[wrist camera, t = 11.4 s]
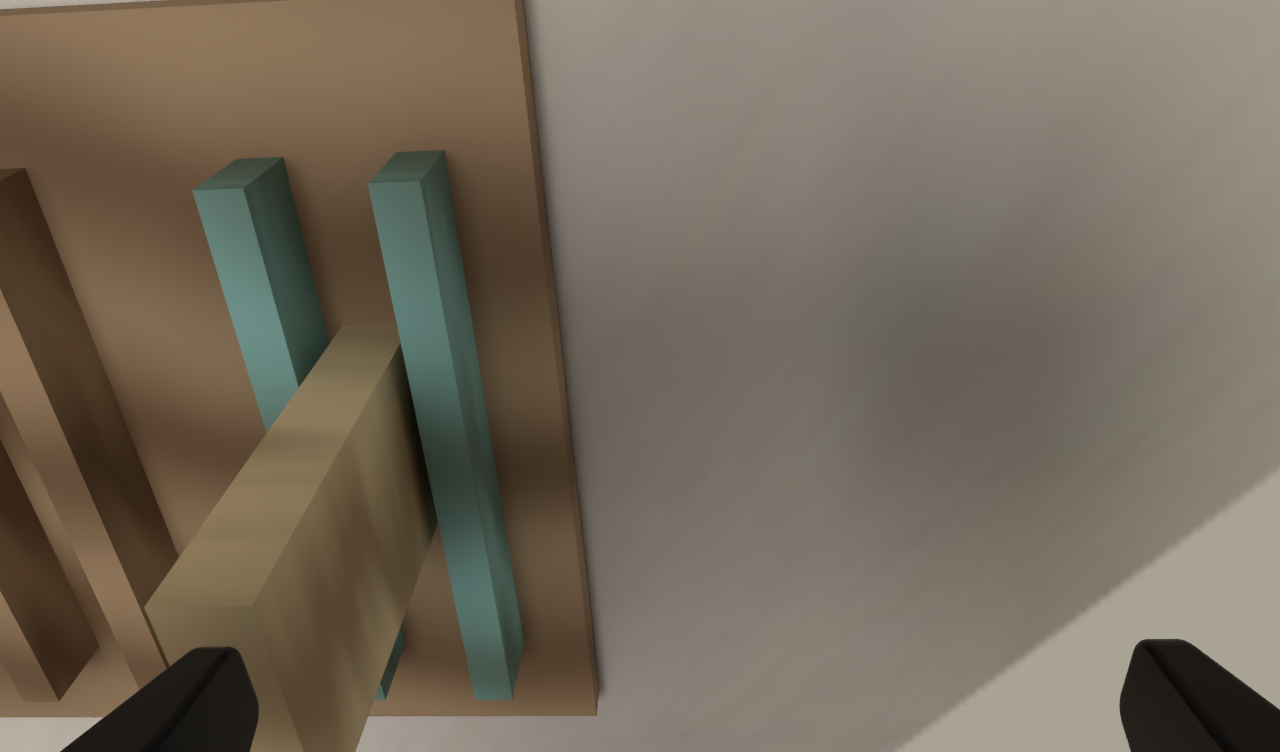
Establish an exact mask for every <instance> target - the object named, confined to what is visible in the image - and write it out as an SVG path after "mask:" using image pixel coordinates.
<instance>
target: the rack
mask: <svg viewBox="0 0 1280 752" xmlns="http://www.w3.org/2000/svg"><path fill="white" fill-rule="evenodd" d="M389 323H397V327H398V332H399V337H400V342H401V346H402V351H403V356H404V361H405V366H406V370H407V375H408V380H409V385H410V390H411V394H412V399H413V404H414V409H415V414H416V418H417V423H418V428H419V433H420V438H421V442H422V447H423V452H424V457H425V462H426V467H427V471H428V476H429V481H430V486H431V491H432V495H433V500H434V505H435V510H436V515H437V519H438V524H437V527H436V530H435V533H434V535H433V538H432V541H431V544H430V546H429V549H428V552H427V555H426V558H425V560H424V563H423V566H422V569H421V571H420V574H419V577H418V580H417V582H416V585H415V588H414V591H413V593H412V596H411V599H410V602H409V605H408V607H407V610H406V613H405V616H404V618H403V621H402V624H401V627H400V629H399V632H398V635H397V638H396V640H395V643H394V646H393V649H392V652H391V654H390V657H389V660H388V663H387V665H386V668H385V671H384V674H383V676H382V679H381V682H380V685H379V687H378V690H377V693H376V696H375V699H374V701H373V704H372V707H371V710H370V712H369V715H368V716H596V715H597V706H598V696H599V682H598V673H597V664H596V655H595V646H594V637H593V628H592V619H591V610H590V601H589V592H588V583H587V574H586V565H585V556H584V547H583V538H582V529H581V519H580V510H579V501H578V492H577V483H576V474H575V465H574V456H573V447H572V438H571V429H570V420H569V411H568V402H567V393H566V384H565V375H564V366H563V357H562V348H561V339H560V330H559V321H558V311H557V302H556V293H555V284H554V275H553V266H552V257H551V248H550V239H549V230H548V221H547V212H546V203H545V194H544V185H543V176H542V167H541V158H540V149H539V140H538V131H537V122H536V113H535V104H534V94H533V85H532V76H531V67H530V58H529V49H528V40H527V31H526V22H525V13H524V4H523V0H169V1H151V2H133V3H114V4H96V5H78V6H59V7H41V8H23V9H4V10H0V717H105V716H107V715H108V714H109V713H110V712H112V711H113V710H114V709H116V708H117V707H118V706H119V705H121V704H122V703H123V702H125V701H126V700H127V699H128V698H130V697H131V696H132V695H134V694H135V693H136V692H137V691H139V690H140V689H141V688H143V687H144V686H145V685H146V684H148V683H149V682H150V681H152V680H153V679H154V678H155V677H157V676H158V675H159V674H160V673H162V672H163V671H164V670H166V669H167V668H168V667H169V663H168V661H167V659H166V656H165V654H164V652H163V650H162V647H161V645H160V643H159V640H158V638H157V636H156V633H155V631H154V629H153V626H152V624H151V622H150V620H149V617H148V615H147V613H146V610H145V608H144V607H145V605H146V604H147V602H148V601H149V600H150V598H151V597H152V595H153V594H154V592H155V591H156V590H157V588H158V587H159V585H160V584H161V583H162V581H163V580H164V578H165V577H166V575H167V574H168V573H169V571H170V570H171V568H172V567H173V566H174V564H175V563H176V561H177V560H178V558H179V557H180V556H181V554H182V553H183V551H184V550H185V548H186V547H187V546H188V544H189V543H190V541H191V540H192V539H193V537H194V536H195V534H196V533H197V531H198V530H199V529H200V527H201V526H202V524H203V523H204V521H205V520H206V519H207V517H208V516H209V514H210V513H211V512H212V510H213V509H214V507H215V506H216V504H217V503H218V502H219V500H220V499H221V497H222V496H223V495H224V493H225V492H226V490H227V489H228V487H229V486H230V485H231V483H232V482H233V480H234V479H235V477H236V476H237V475H238V473H239V472H240V470H241V469H242V468H243V466H244V465H245V463H246V462H247V460H248V459H249V458H250V456H251V455H252V453H253V452H254V451H255V449H256V448H257V446H258V445H259V443H260V442H261V441H262V439H263V438H264V436H265V435H266V433H267V432H268V431H269V429H270V428H271V426H272V425H273V424H274V422H275V421H276V419H277V418H278V416H279V415H280V414H281V412H282V411H283V409H284V408H285V406H286V405H287V404H288V402H289V401H290V399H291V398H292V397H293V395H294V394H295V392H296V391H297V389H298V388H299V387H300V385H301V384H302V382H303V381H304V380H305V378H306V377H307V375H308V374H309V372H310V371H311V370H312V368H313V367H314V365H315V364H316V362H317V361H318V360H319V358H320V357H321V355H322V354H323V353H324V351H325V350H326V348H327V347H328V345H329V344H330V343H331V341H332V340H333V338H334V337H335V336H336V334H337V333H338V331H339V330H340V328H341V327H342V326H343V325H357V324H389Z"/></svg>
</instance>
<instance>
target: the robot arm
mask: <svg viewBox="0 0 1280 752" xmlns="http://www.w3.org/2000/svg"><path fill="white" fill-rule="evenodd" d="M1120 715H1121V720H1122V724H1123V727H1124V730H1125V734H1126V737H1127V740H1128V743H1129V747H1130V750H1131V752H1280V710H1279V709H1278V708H1277V707H1276V706H1274V705H1273V704H1272V703H1270V702H1269V701H1267V700H1266V699H1265V698H1263V697H1262V696H1261V695H1259V694H1258V693H1257V692H1255V691H1254V690H1253V689H1251V688H1250V687H1248V686H1247V685H1246V684H1245V683H1243V682H1242V681H1241V680H1239V679H1238V678H1237V677H1235V676H1234V675H1233V674H1231V673H1230V672H1229V671H1227V670H1226V669H1225V668H1223V667H1222V666H1220V665H1219V664H1218V663H1216V662H1215V661H1214V660H1213V659H1211V658H1210V657H1209V656H1207V655H1206V654H1204V653H1203V652H1202V651H1200V650H1199V649H1198V648H1196V647H1195V646H1194V645H1192V644H1191V643H1189V642H1187V641H1184V640H1180V639H1146V640H1142V641H1140V642H1139V643H1138V644H1137V645H1136V646H1135V649H1134V651H1133V654H1132V658H1131V661H1130V665H1129V668H1128V672H1127V675H1126V678H1125V681H1124V685H1123V689H1122V692H1121V696H1120ZM258 719H259V703H258V698H257V695H256V693H255V690H254V687H253V685H252V682H251V679H250V677H249V674H248V671H247V669H246V666H245V663H244V661H243V658H242V656H241V654H240V652H239V651H238V650H237V649H235V648H234V647H230V646H215V647H198V648H195V649H192V650H191V651H189V652H188V653H186V654H185V655H184V656H182V657H181V658H180V659H178V660H177V661H176V662H175V663H173V664H172V665H171V666H169V667H168V668H167V669H166V670H164V671H163V672H162V673H160V674H159V675H158V676H157V677H155V678H154V679H153V680H152V681H150V682H149V683H148V684H146V685H145V686H144V687H143V688H141V689H140V690H139V691H137V692H136V693H135V694H134V695H132V696H131V697H130V698H128V699H127V700H126V701H125V702H123V703H122V704H121V705H119V706H118V707H117V708H116V709H114V710H113V711H112V712H110V713H109V714H108V715H107V716H105V717H104V718H103V719H101V720H100V721H99V722H98V723H96V724H95V725H94V726H92V727H91V728H90V729H89V730H87V731H86V732H85V733H83V734H82V735H81V736H80V737H78V738H77V739H76V740H74V741H73V742H72V743H71V744H69V745H68V746H67V747H66V748H64V749H63V750H62V751H60V752H250V749H251V746H252V742H253V739H254V735H255V732H256V728H257V724H258Z"/></svg>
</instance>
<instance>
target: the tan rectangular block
mask: <svg viewBox="0 0 1280 752" xmlns="http://www.w3.org/2000/svg"><path fill="white" fill-rule="evenodd" d="M437 524H438V519H437V515H436V510H435V505H434V500H433V495H432V491H431V486H430V481H429V476H428V471H427V467H426V462H425V457H424V452H423V447H422V442H421V438H420V433H419V428H418V423H417V418H416V414H415V409H414V404H413V399H412V394H411V390H410V385H409V380H408V375H407V370H406V366H405V361H404V356H403V351H402V346H401V342H400V337H399V332H398V327H397V323H389V324H357V325H343V326H342V327H341V328H340V330H339V331H338V333H337V334H336V336H335V337H334V338H333V340H332V341H331V343H330V344H329V345H328V347H327V348H326V350H325V351H324V353H323V354H322V355H321V357H320V358H319V360H318V361H317V362H316V364H315V365H314V367H313V368H312V370H311V371H310V372H309V374H308V375H307V377H306V378H305V380H304V381H303V382H302V384H301V385H300V387H299V388H298V389H297V391H296V392H295V394H294V395H293V397H292V398H291V399H290V401H289V402H288V404H287V405H286V406H285V408H284V409H283V411H282V412H281V414H280V415H279V416H278V418H277V419H276V421H275V422H274V424H273V425H272V426H271V428H270V429H269V431H268V432H267V433H266V435H265V436H264V438H263V439H262V441H261V442H260V443H259V445H258V446H257V448H256V449H255V451H254V452H253V453H252V455H251V456H250V458H249V459H248V460H247V462H246V463H245V465H244V466H243V468H242V469H241V470H240V472H239V473H238V475H237V476H236V477H235V479H234V480H233V482H232V483H231V485H230V486H229V487H228V489H227V490H226V492H225V493H224V495H223V496H222V497H221V499H220V500H219V502H218V503H217V504H216V506H215V507H214V509H213V510H212V512H211V513H210V514H209V516H208V517H207V519H206V520H205V521H204V523H203V524H202V526H201V527H200V529H199V530H198V531H197V533H196V534H195V536H194V537H193V539H192V540H191V541H190V543H189V544H188V546H187V547H186V548H185V550H184V551H183V553H182V554H181V556H180V557H179V558H178V560H177V561H176V563H175V564H174V566H173V567H172V568H171V570H170V571H169V573H168V574H167V575H166V577H165V578H164V580H163V581H162V583H161V584H160V585H159V587H158V588H157V590H156V591H155V592H154V594H153V595H152V597H151V598H150V600H149V601H148V602H147V604H146V605H145V607H144V608H145V610H146V613H147V615H148V617H149V620H150V622H151V624H152V626H153V629H154V631H155V633H156V636H157V638H158V640H159V643H160V645H161V647H162V650H163V652H164V654H165V656H166V659H167V661H168V663H169V666H171V665H172V664H173V663H175V662H176V661H177V660H178V659H180V658H181V657H182V656H184V655H185V654H186V653H188V652H189V651H191V650H192V649H195V648H198V647H215V646H230V647H234V648H235V649H237V650H238V651H239V652H240V654H241V656H242V658H243V661H244V663H245V666H246V669H247V671H248V674H249V677H250V679H251V682H252V685H253V687H254V690H255V693H256V695H257V698H258V703H259V719H258V724H257V728H256V732H255V735H254V739H253V742H252V746H251V749H250V752H355V751H356V748H357V746H358V743H359V740H360V737H361V734H362V732H363V729H364V726H365V723H366V721H367V718H368V715H369V712H370V710H371V707H372V704H373V701H374V699H375V696H376V693H377V690H378V687H379V685H380V682H381V679H382V676H383V674H384V671H385V668H386V665H387V663H388V660H389V657H390V654H391V652H392V649H393V646H394V643H395V640H396V638H397V635H398V632H399V629H400V627H401V624H402V621H403V618H404V616H405V613H406V610H407V607H408V605H409V602H410V599H411V596H412V593H413V591H414V588H415V585H416V582H417V580H418V577H419V574H420V571H421V569H422V566H423V563H424V560H425V558H426V555H427V552H428V549H429V546H430V544H431V541H432V538H433V535H434V533H435V530H436V527H437Z"/></svg>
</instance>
